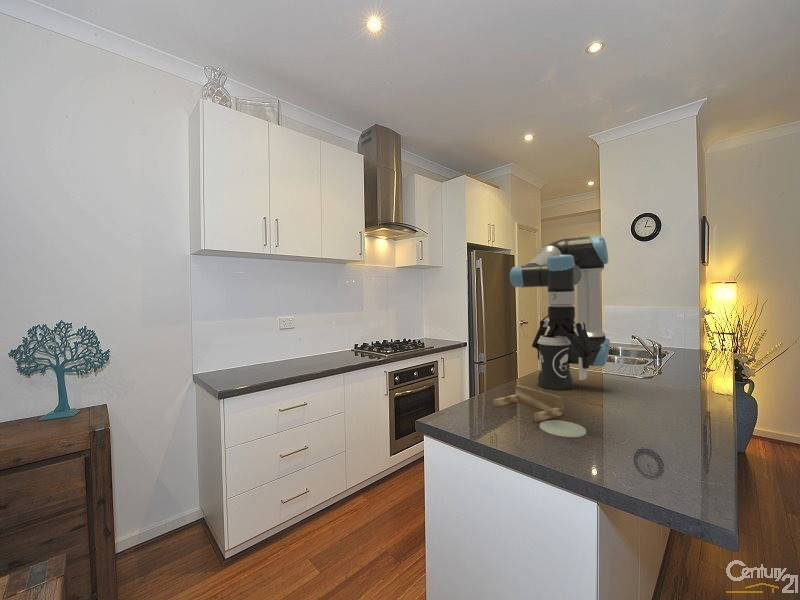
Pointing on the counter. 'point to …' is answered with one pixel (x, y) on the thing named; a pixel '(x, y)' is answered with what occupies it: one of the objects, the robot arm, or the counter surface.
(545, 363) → the coffee cup
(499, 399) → the shelf bay
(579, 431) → the coaster
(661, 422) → the counter surface
